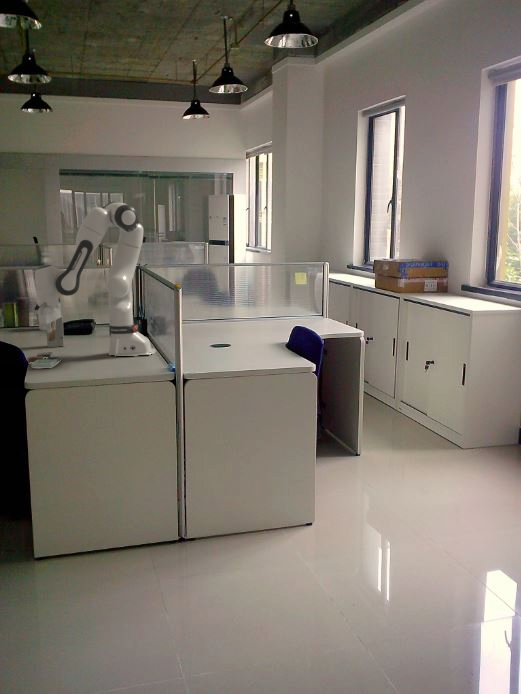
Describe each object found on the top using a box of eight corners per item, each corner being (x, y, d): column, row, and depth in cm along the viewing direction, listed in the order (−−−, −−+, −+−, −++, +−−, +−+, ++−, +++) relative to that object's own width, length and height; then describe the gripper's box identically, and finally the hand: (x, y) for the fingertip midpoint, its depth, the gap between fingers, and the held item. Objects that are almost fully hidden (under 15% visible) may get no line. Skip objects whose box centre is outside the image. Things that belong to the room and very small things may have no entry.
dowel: (56, 339, 310) (54, 318, 308) (54, 340, 307) (52, 319, 305) (50, 339, 310) (48, 318, 308) (47, 341, 307) (45, 319, 305)
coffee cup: (36, 328, 405) (34, 303, 402) (55, 327, 408) (53, 302, 405) (35, 331, 395) (33, 306, 392) (56, 330, 398) (54, 305, 395)
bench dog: (43, 362, 311) (43, 356, 310) (41, 364, 308) (41, 357, 307) (30, 362, 311) (30, 356, 311) (28, 364, 308) (28, 357, 308)
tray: (57, 364, 306) (57, 359, 305) (51, 368, 298) (51, 363, 297) (37, 365, 306) (37, 359, 306) (31, 369, 298) (31, 363, 298)
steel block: (52, 357, 324) (52, 352, 324) (50, 359, 319) (49, 354, 319) (40, 357, 324) (39, 352, 323) (37, 360, 319) (36, 354, 318)
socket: (61, 361, 313) (61, 357, 313) (57, 364, 307) (57, 359, 307) (48, 361, 313) (48, 357, 313) (44, 364, 307) (44, 360, 307)
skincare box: (47, 348, 345) (44, 317, 342) (48, 345, 352) (45, 315, 349) (64, 346, 348) (62, 316, 344) (64, 344, 354) (62, 314, 351)
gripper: (47, 304, 295) (50, 335, 297) (62, 298, 315) (65, 327, 317) (32, 304, 295) (36, 336, 298) (48, 298, 315) (52, 327, 318)
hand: (51, 331), depth 308 cm, fingers closed on dowel, 3 cm apart
